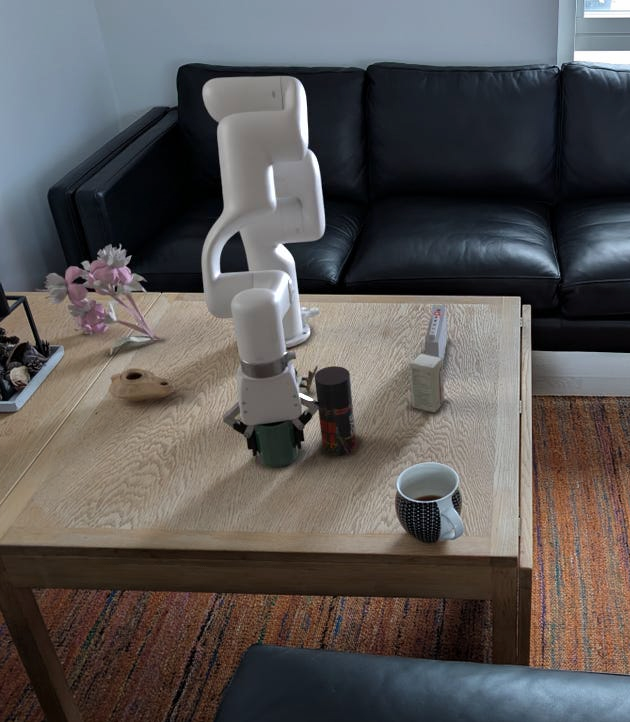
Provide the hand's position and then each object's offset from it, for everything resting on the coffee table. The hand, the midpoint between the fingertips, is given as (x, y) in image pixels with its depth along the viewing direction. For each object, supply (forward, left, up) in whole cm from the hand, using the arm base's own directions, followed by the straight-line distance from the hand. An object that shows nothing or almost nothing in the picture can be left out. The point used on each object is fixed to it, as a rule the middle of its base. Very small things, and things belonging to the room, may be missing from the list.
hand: (277, 447), depth 146 cm
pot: (0, 0, -2) cm, 2 cm away
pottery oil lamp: (+6, -34, -2) cm, 35 cm away
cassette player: (-42, -1, -2) cm, 42 cm away
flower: (-1, -61, -2) cm, 61 cm away
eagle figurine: (-15, -15, -2) cm, 21 cm away
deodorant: (-9, +6, -2) cm, 11 cm away
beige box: (-29, +9, -2) cm, 30 cm away
